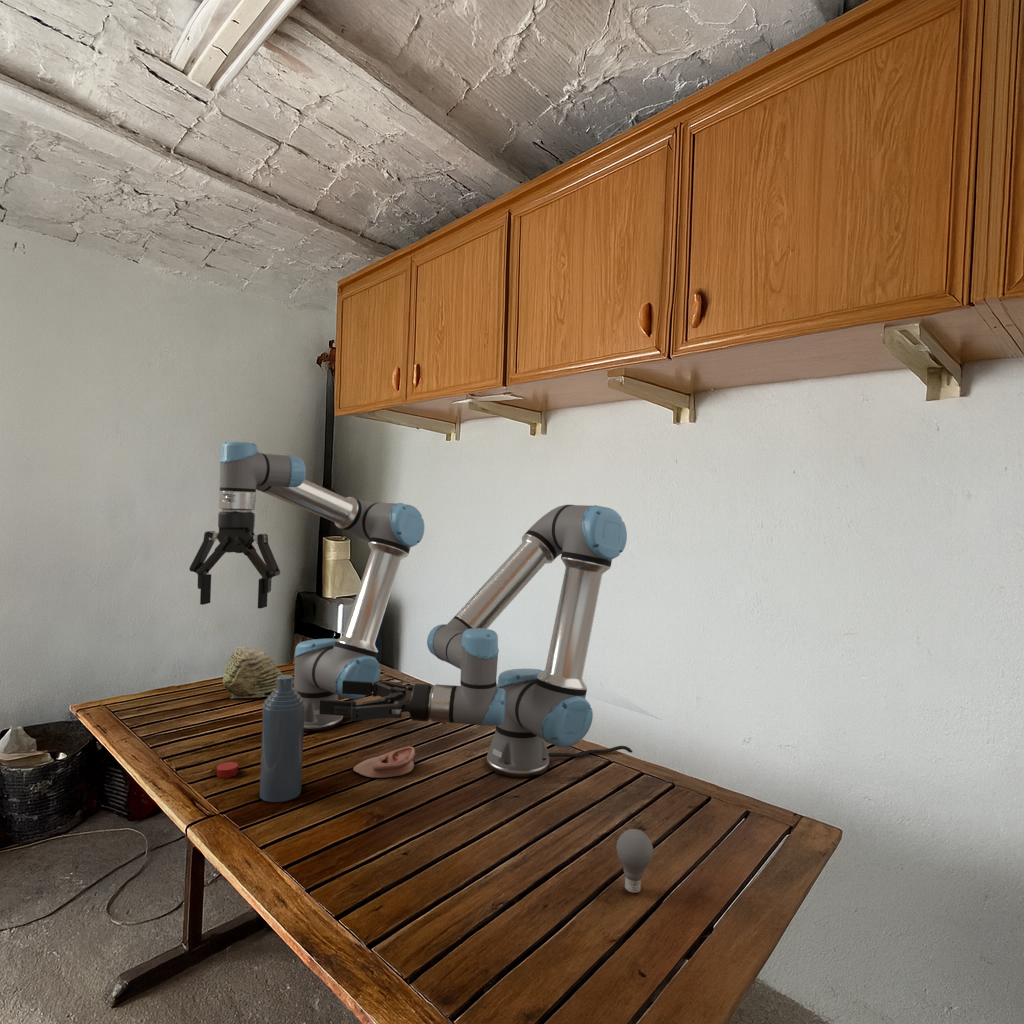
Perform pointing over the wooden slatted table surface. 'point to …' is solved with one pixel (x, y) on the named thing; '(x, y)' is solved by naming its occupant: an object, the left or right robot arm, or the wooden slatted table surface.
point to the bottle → (282, 743)
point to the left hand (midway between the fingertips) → (233, 605)
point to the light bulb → (634, 857)
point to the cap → (227, 769)
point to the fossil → (250, 674)
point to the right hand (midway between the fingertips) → (331, 696)
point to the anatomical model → (388, 764)
